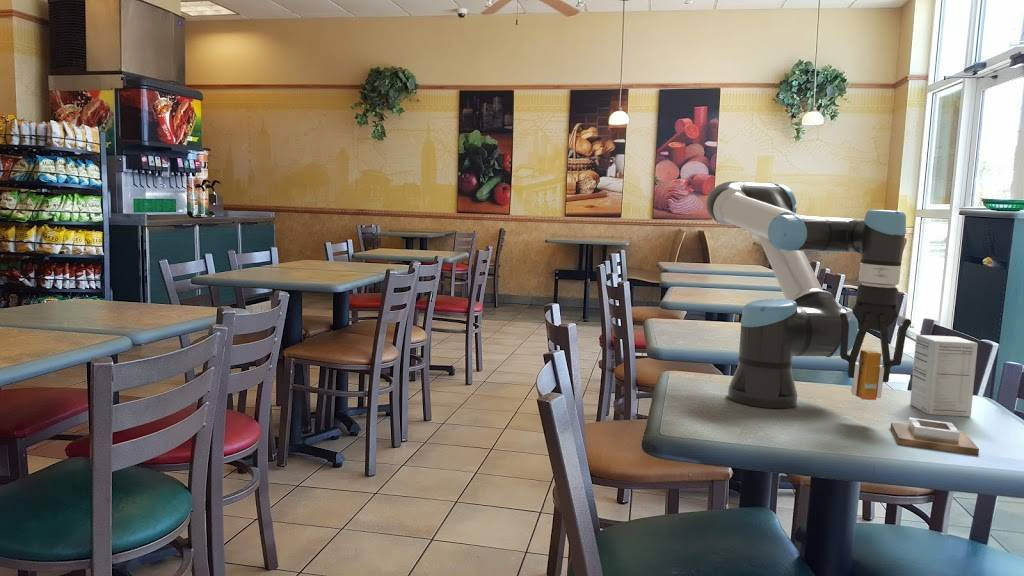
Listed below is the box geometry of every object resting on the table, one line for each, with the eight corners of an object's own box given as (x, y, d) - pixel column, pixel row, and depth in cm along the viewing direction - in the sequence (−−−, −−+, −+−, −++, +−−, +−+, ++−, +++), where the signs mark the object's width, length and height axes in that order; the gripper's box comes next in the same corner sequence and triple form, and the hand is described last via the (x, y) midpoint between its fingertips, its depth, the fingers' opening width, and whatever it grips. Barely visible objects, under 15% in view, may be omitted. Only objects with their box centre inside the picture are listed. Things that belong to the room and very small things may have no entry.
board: (898, 444, 134) (899, 437, 134) (890, 427, 145) (891, 422, 145) (978, 455, 129) (979, 448, 129) (963, 437, 140) (964, 431, 140)
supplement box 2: (950, 406, 166) (958, 336, 164) (972, 417, 157) (980, 342, 155) (908, 404, 167) (915, 333, 165) (927, 414, 157) (934, 340, 156)
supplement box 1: (878, 400, 147) (882, 353, 146) (861, 399, 147) (866, 352, 146) (870, 396, 150) (874, 350, 149) (854, 395, 150) (858, 349, 149)
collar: (913, 436, 135) (914, 426, 135) (908, 427, 142) (909, 417, 141) (958, 443, 132) (959, 432, 132) (950, 432, 139) (951, 422, 139)
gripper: (834, 282, 145) (822, 393, 148) (928, 290, 139) (914, 405, 142) (832, 279, 152) (821, 385, 155) (922, 287, 146) (908, 396, 149)
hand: (865, 394), depth 149 cm, fingers closed on supplement box 1, 4 cm apart
